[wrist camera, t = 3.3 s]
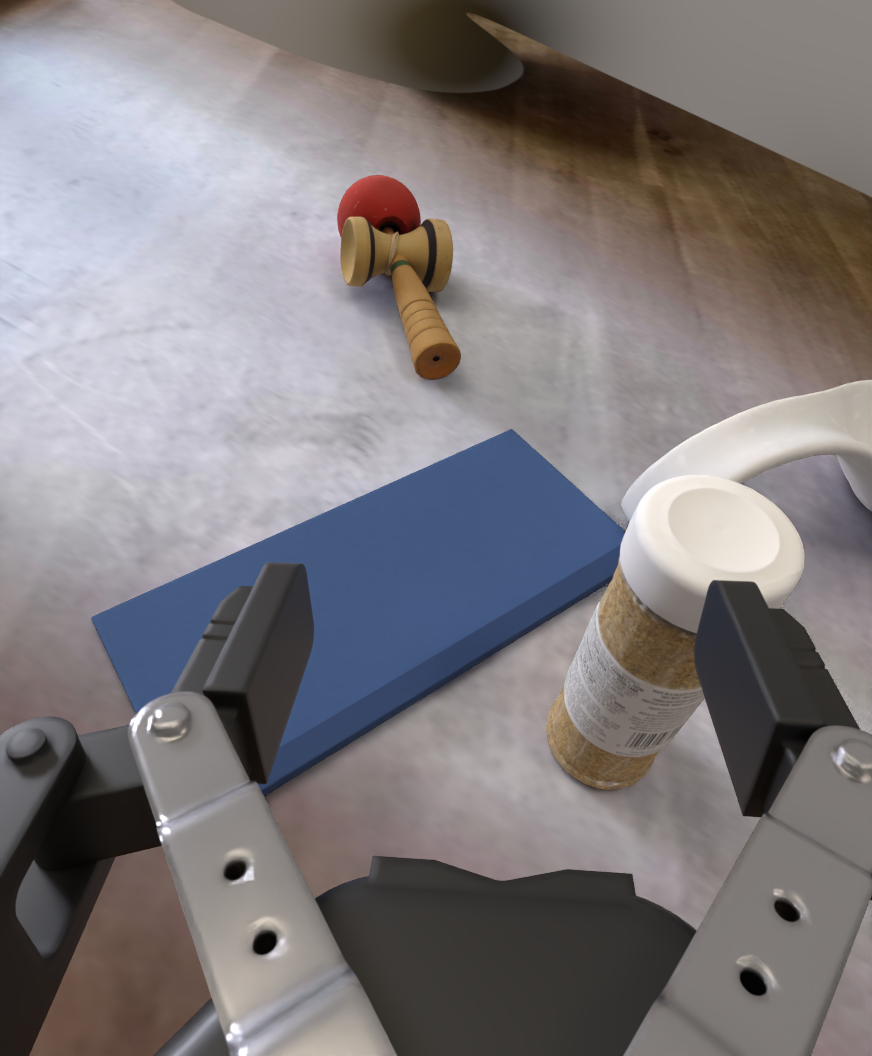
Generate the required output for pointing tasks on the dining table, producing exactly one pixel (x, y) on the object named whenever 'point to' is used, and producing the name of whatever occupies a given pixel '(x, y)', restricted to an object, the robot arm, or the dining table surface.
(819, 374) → the dining table surface
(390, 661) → the blue flat rectangular slab
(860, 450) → the spoon rest
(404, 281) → the kendama
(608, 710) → the spice jar
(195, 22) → the dining table surface
